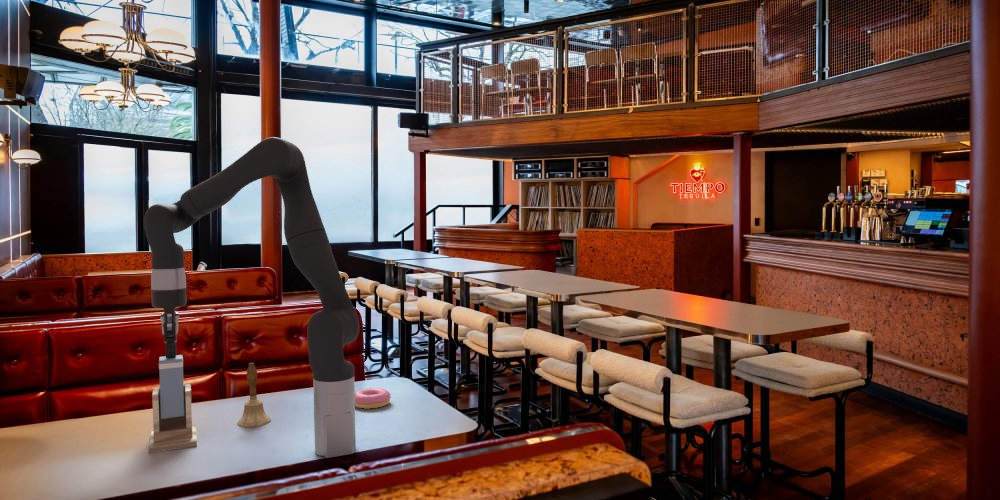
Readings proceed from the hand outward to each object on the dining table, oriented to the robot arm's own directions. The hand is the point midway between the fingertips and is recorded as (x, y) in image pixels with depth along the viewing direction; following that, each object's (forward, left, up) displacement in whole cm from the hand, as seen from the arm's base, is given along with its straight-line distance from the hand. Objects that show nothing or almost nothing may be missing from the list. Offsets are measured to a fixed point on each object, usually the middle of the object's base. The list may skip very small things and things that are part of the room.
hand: (171, 357), depth 155 cm
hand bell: (+6, -19, -21) cm, 29 cm away
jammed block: (0, 0, -14) cm, 14 cm away
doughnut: (+7, -51, -21) cm, 56 cm away
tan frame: (0, 0, -20) cm, 20 cm away
